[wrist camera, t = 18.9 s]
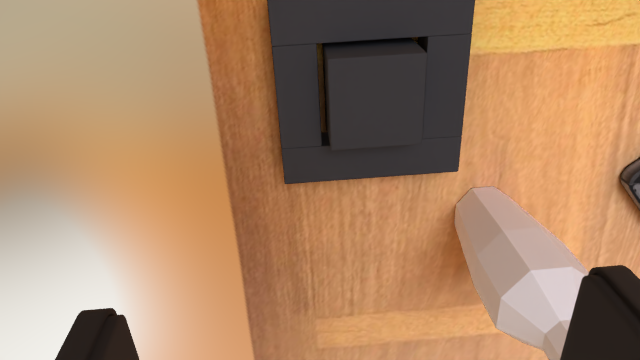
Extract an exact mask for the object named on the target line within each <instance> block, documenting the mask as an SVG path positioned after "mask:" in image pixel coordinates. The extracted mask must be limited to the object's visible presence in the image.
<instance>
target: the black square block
mask: <svg viewBox="0 0 640 360" xmlns="http://www.w3.org/2000/svg"><path fill="white" fill-rule="evenodd" d="M322 49H323V71H324V93H325V115H326V127H327V132H328V137H329V142H330V147H331V150H345V149H359V148H374V147H388V146H402V145H416V144H422V135H423V117H424V100H425V82H426V64H427V53H426V52H425V51H424V50H423V49H422V48H421V47H420V46H419V45H418V44H417V43H416V42H415V41H414V40H413V39H412V38H396V39H380V40H364V41H349V42H333V43H322Z"/></svg>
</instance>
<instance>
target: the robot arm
mask: <svg viewBox="0 0 640 360" xmlns="http://www.w3.org/2000/svg"><path fill="white" fill-rule="evenodd" d="M55 360H139V357H138V354H137V351H136V348H135V345H134V342H133V339H132V336H131V333H130V330H129V327H128V324H127V321H126V318H125V317H124V315H117V314H116V311H115V310H114V309H113V308H107V309H96V310H84V311H82V312H80V313H79V315H78V316H77V318H76V320H75V322H74V324H73V326H72V328H71V330H70V332H69V333H68V335H67V337H66V339H65V341H64V343H63V345H62V347H61V349H60V351H59V353H58V355H57V357H56V359H55ZM560 360H640V279H639V278H638V277H637V276H636V275H635V274H634V273H633V272H632V271H631V270H630V269H628V268H627V267H626V266H623V265H618V266H607V267H596V268H592V269H591V270H590V272H589V274H588V275H586V276H584V277H583V278H582V280H581V284H580V288H579V291H578V295H577V299H576V302H575V306H574V310H573V313H572V317H571V321H570V324H569V328H568V332H567V335H566V339H565V343H564V346H563V350H562V354H561V358H560Z"/></svg>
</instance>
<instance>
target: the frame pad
mask: <svg viewBox="0 0 640 360" xmlns="http://www.w3.org/2000/svg"><path fill="white" fill-rule="evenodd" d="M267 2H268V12H269V23H270V33H271V44H272V54H273V65H274V75H275V86H276V96H277V107H278V117H279V128H280V138H281V148H282V159H283V169H284V180H285V184H293V183H306V182H320V181H334V180H347V179H361V178H375V177H388V176H402V175H416V174H429V173H443V172H457V171H458V167H459V157H460V146H461V136H462V127H463V116H464V106H465V96H466V86H467V76H468V66H469V56H470V45H471V35H472V34H471V33H472V25H473V15H474V5H475V0H267ZM411 37H418V45H419V46H420V47H421V48H422V49H423V50H424V51H425V52H426V53H427V64H426V82H425V100H424V117H423V135H422V144H416V145H402V146H388V147H374V148H359V149H345V150H331V147H330V142H329V137H328V132H321V119H320V99H319V80H318V60H317V44H318V43H333V42H349V41H364V40H380V39H396V38H411Z"/></svg>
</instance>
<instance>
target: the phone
mask: <svg viewBox="0 0 640 360" xmlns="http://www.w3.org/2000/svg"><path fill="white" fill-rule="evenodd" d="M621 183H622V185H623V186H624V188H625V189H626V191H627V192H628V193H629V195H630V196H631V198H632V199H633V201H634V202H635V204H636V205H637V207H638V208H639V210H640V159H638V160H637V161H635V162H634V163H632V164H631V165H629V166H628V167H627V168H626V169H625V170H624V171H623V173H622V175H621Z"/></svg>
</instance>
